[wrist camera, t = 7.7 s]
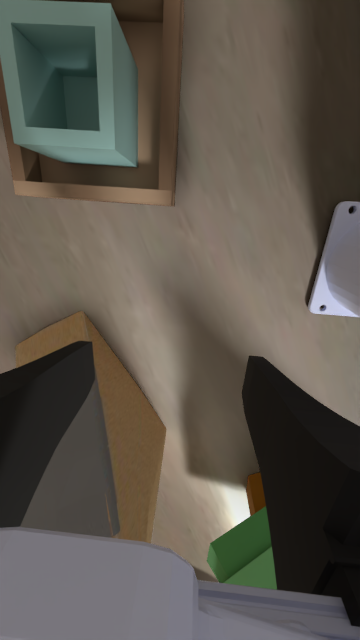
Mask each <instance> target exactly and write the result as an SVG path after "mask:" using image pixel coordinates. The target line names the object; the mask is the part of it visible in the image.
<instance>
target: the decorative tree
mask: <svg viewBox="0 0 360 640" xmlns="http://www.w3.org/2000/svg"><path fill="white" fill-rule="evenodd" d="M246 492H247V498H248V504H249V509H250V515H251V516H250V517H249V518H247V519H246V520H244V521H243V522H241V523H240V524H238V525H237V526H235V527H234V528H232V529H231V530H229V531H228V532H226V533H225V534H223V535H222V536H220V537H219V538H217V539H216V540H215V541H213V542H212V543H210V547H209V552H208V558H207V562H208V564H209V566H210V567H211V569H212V571H213V572H214V574H215V576H216V578H217V579H218V581H219V583H226V584H234V585H242V586H251V587H259V588H267V589H275V590H277V585H276V576H275V568H274V559H273V552H272V545H271V537H270V530H269V523H268V516H267V510H266V503H265V497H264V491H263V485H262V479H261V473H260V472H259V473H256V474H252V475H249V476H248V481H247V489H246Z"/></svg>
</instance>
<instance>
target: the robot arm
mask: <svg viewBox="0 0 360 640" xmlns="http://www.w3.org/2000/svg"><path fill="white" fill-rule="evenodd" d="M351 206H353V208H354V209H353V212H352V213H351V214H349V208H350V207H351ZM322 305H324V308H323V309H320V310H319V308H320V306H322ZM308 309H309V311H311V312H312V313H316V314H328V315H341V316H353V317H360V202H351V201H344V202H340V203H339V204H338V205H337V206H336V208H335V210H334V214H333V217H332V221H331V225H330V228H329V232H328V236H327V239H326V243H325V246H324V250H323V254H322V257H321V261H320V264H319V268H318V272H317V275H316V279H315V282H314V286H313V290H312V293H311V297H310V300H309V304H308ZM94 381H95V368H94V356H93V344H92V342H90V341H77V342H74V343H71V344H69V345H67V346H65V347H63V348H60V349H58V350H56V351H54V352H52V353H50V354H48V355H45V356H43V357H41V358H39V359H37V360H34V361H32V362H29V363H27V364H25V365H22V366H20V367H18V368H15V369H13V370H10V371H7V372H5V373H2V374H0V640H360V426H358V425H356V424H354V423H352V422H350V421H349V420H347V419H345V418H343V417H342V416H340V415H338V414H337V413H335V412H334V411H332V410H331V409H329V408H327V407H326V406H324V405H323V404H321V403H320V402H318V401H317V400H315V399H314V398H313V397H311V396H310V395H309V394H307V393H306V392H305V391H303V390H302V389H301V388H299V387H298V386H297V385H296V384H294V383H293V382H292V381H291V380H290V379H288V378H287V377H286V376H285V375H284V374H283V373H281V372H280V371H279V370H278V369H277V368H276V367H274V366H273V365H272V364H271V363H270V362H269V361H267V360H266V359H265V358H264V357H258V356H249V359H248V364H247V369H246V374H245V379H244V384H243V389H242V398H243V405H244V412H245V416H246V420H247V424H248V427H249V431H250V435H251V438H252V442H253V445H254V449H255V453H256V456H257V460H258V464H259V468H260V473H261V479H262V485H263V491H264V497H265V503H266V510H267V516H268V523H269V530H270V537H271V545H272V552H273V559H274V568H275V576H276V585H277V590H275V589H267V588H259V587H251V586H242V585H234V584H226V583H218V582H209V581H202V580H197V578H196V575H195V572H194V569H193V567H192V566H191V565H190V563H189V562H188V561H186V560H185V559H184V558H182V557H181V556H179V555H178V554H177V553H175V552H174V551H173V550H171V549H169V548H165V547H162V546H158V545H154V544H151V543H147V542H142V541H134V540H125V539H117V538H108V537H100V536H92V535H83V534H75V533H66V532H58V531H50V530H41V529H33V528H24V527H20V526H21V523H22V521H23V519H24V516H25V514H26V512H27V509H28V507H29V505H30V502H31V500H32V498H33V496H34V493H35V491H36V489H37V487H38V485H39V483H40V480H41V478H42V476H43V474H44V472H45V470H46V468H47V466H48V464H49V462H50V460H51V457H52V455H53V453H54V451H55V449H56V448H57V446H58V444H59V442H60V440H61V439H62V437H63V436H64V434H65V432H66V431H67V429H68V428H69V426H70V424H71V423H72V421H73V420H74V418H75V416H76V415H77V413H78V412H79V410H80V408H81V407H82V405H83V403H84V402H85V400H86V398H87V397H88V394H89V392H90V390H91V388H92V385H93V383H94Z"/></svg>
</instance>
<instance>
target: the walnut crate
mask: <svg viewBox="0 0 360 640" xmlns="http://www.w3.org/2000/svg"><path fill="white" fill-rule="evenodd" d="M42 1H66V2H91V3H111V5H112V8H113V10H114V12H115V15H116V17H117V20H118V22H119V25H120V27H121V29H122V32H123V34H124V37H125V39H126V41H127V44H128V46H129V49H130V51H131V53H132V56H133V58H134V61H135V63H136V66H137V68H138V168H135V167H119V166H104V165H89V164H73V163H63V162H61V161H58V160H56V159H53V158H50V157H48V156H45V155H43V154H40V153H38V152H35V151H32V150H30V149H27V148H25V147H22V146H20V145H17V144H14V140H13V133H12V127H11V121H10V115H9V108H8V102H7V96H6V90H5V83H4V77H3V71H2V65H1V59H0V108H1V113H2V119H3V125H4V131H5V137H6V142H7V148H8V154H9V160H10V166H11V171H12V177H13V183H14V189H15V195H23V196H32V197H43V198H58V199H73V200H88V201H103V202H117V203H132V204H147V205H162V206H174V205H175V185H176V165H177V145H178V125H179V105H180V85H181V64H182V44H183V24H184V2H183V0H42Z"/></svg>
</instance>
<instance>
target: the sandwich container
mask: <svg viewBox="0 0 360 640" xmlns="http://www.w3.org/2000/svg"><path fill="white" fill-rule="evenodd" d="M77 341H90V342H92V344H93V356H94V368H95V381H94V383H93V385H92V388H91V390H90V392H89V394H88V397H87V398H86V400H85V402H84V403H83V405H82V407H81V408H80V410H79V412H78V413H77V415H76V416H75V418H74V420H73V421H72V423H71V424H70V426H69V428H68V429H67V431H66V432H65V434H64V436H63V437H62V439H61V440H60V442H59V444H58V446H57V448H56V449H55V451H54V453H53V455H52V457H51V460H50V462H49V464H48V466H47V468H46V470H45V472H44V474H43V476H42V478H41V480H40V483H39V485H38V487H37V489H36V491H35V493H34V496H33V498H32V500H31V502H30V505H29V507H28V509H27V512H26V514H25V516H24V519H23V521H22V523H21V526H20V527H24V528H33V529H41V530H50V531H58V532H66V533H75V534H83V535H92V536H100V537H108V538H117V539H125V540H134V541H142V542H147V543H151V541H152V533H153V526H154V519H155V511H156V504H157V496H158V489H159V481H160V474H161V467H162V459H163V452H164V444H165V437H166V428H165V426H164V425H163V423H162V422H161V420H160V419H159V417H158V416H157V414H156V412H155V411H154V409H153V408H152V406H151V405H150V403H149V402H148V400H147V399H146V397H145V396H144V394H143V393H142V391H141V390H140V388H139V387H138V385H137V384H136V383H135V381H134V380H133V379H132V377H131V376H130V374H129V373H128V372H127V370H126V369H125V368H124V366H123V365H122V364H121V362H120V361H119V359H118V358H117V357H116V355H115V354H114V353H113V351H112V350H111V349H110V347H109V346H108V345H107V343H106V342H105V340H104V339H103V338H102V336H101V335H100V334H99V332H98V331H97V330H96V328H95V327H94V325H93V324H92V323H91V321H90V320H89V319H88V317H87V316H86V315H85V313H84V312H83V311H80V312H77V313H75V314H73V315H71V316H69V317H67V318H65V319H63V320H61V321H59V322H57V323H55V324H53V325H50V326H48V327H46V328H45V329H43V330H41V331H40V332H38V333H36V334H35V335H33V336H31V337H30V338H28V339H26V340H24V341H23V342H21V343H19V344H18V345H16V347H15V353H16V368H18V367H20V366H22V365H25V364H27V363H29V362H32V361H34V360H37V359H39V358H41V357H43V356H45V355H48V354H50V353H52V352H54V351H56V350H58V349H60V348H63V347H65V346H67V345H69V344H71V343H74V342H77Z"/></svg>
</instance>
